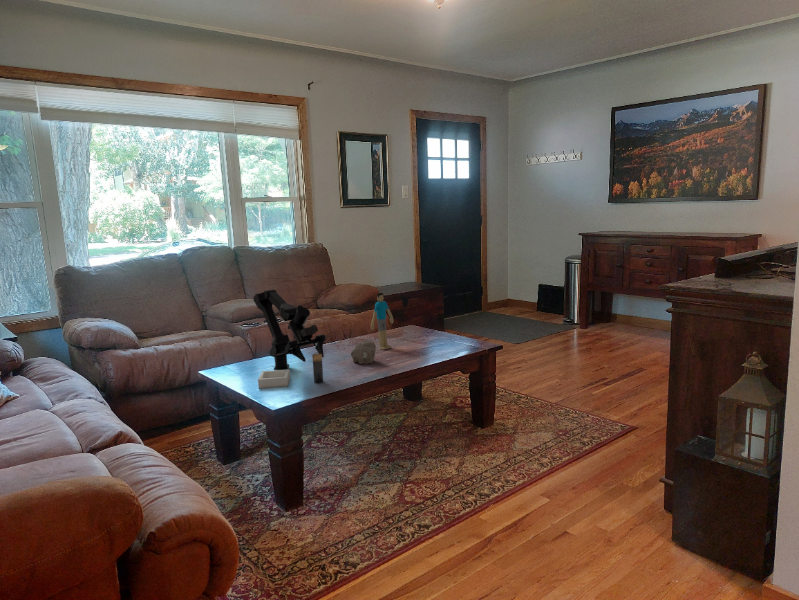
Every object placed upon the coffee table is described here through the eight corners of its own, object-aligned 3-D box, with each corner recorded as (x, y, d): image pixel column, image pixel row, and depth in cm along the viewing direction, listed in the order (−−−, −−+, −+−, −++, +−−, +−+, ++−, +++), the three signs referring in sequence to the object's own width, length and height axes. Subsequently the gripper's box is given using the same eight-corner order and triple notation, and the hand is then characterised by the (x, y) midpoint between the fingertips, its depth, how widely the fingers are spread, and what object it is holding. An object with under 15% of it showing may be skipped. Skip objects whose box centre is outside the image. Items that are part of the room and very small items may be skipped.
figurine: (377, 352, 279) (374, 295, 274) (368, 350, 284) (366, 294, 279) (399, 346, 290) (397, 291, 285) (391, 344, 295) (389, 290, 290)
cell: (314, 380, 237) (312, 351, 235) (323, 380, 237) (321, 351, 235) (313, 383, 233) (311, 354, 231) (323, 383, 233) (321, 353, 231)
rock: (346, 353, 257) (348, 343, 264) (353, 370, 261) (355, 360, 268) (373, 347, 254) (375, 337, 261) (380, 364, 259) (381, 354, 266)
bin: (263, 379, 241) (262, 371, 240) (290, 378, 242) (289, 369, 241) (258, 388, 229) (257, 379, 228) (287, 386, 230) (286, 377, 229)
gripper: (286, 323, 230) (301, 352, 224) (322, 316, 243) (338, 344, 236) (278, 338, 238) (293, 367, 231) (314, 331, 250) (329, 358, 243)
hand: (314, 359), depth 235 cm, fingers open, 9 cm apart
